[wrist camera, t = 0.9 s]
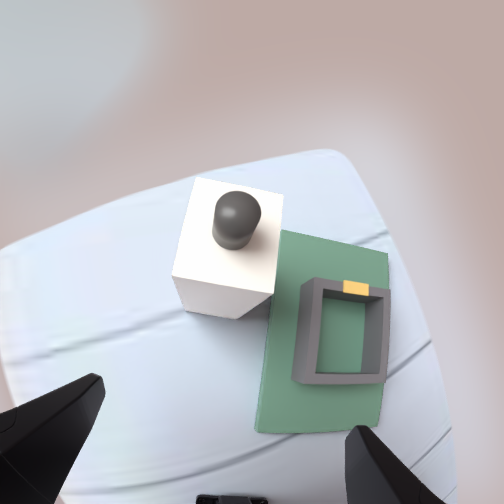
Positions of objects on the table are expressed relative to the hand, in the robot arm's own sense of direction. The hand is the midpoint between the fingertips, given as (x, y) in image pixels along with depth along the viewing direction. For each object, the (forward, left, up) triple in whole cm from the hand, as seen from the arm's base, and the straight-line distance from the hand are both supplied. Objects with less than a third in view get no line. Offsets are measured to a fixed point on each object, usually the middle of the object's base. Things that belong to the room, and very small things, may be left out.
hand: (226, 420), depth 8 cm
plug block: (+8, +1, -14) cm, 16 cm away
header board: (+5, -10, -14) cm, 18 cm away
